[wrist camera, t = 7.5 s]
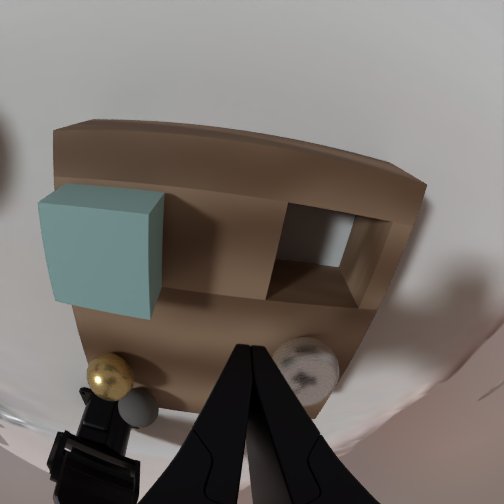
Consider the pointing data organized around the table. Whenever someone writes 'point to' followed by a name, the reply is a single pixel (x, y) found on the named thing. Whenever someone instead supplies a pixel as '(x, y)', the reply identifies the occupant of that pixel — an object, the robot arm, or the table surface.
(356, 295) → the board
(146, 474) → the table surface
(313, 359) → the steel ball
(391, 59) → the table surface
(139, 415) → the black rubber ball
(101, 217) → the teal block
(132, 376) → the brass ball
